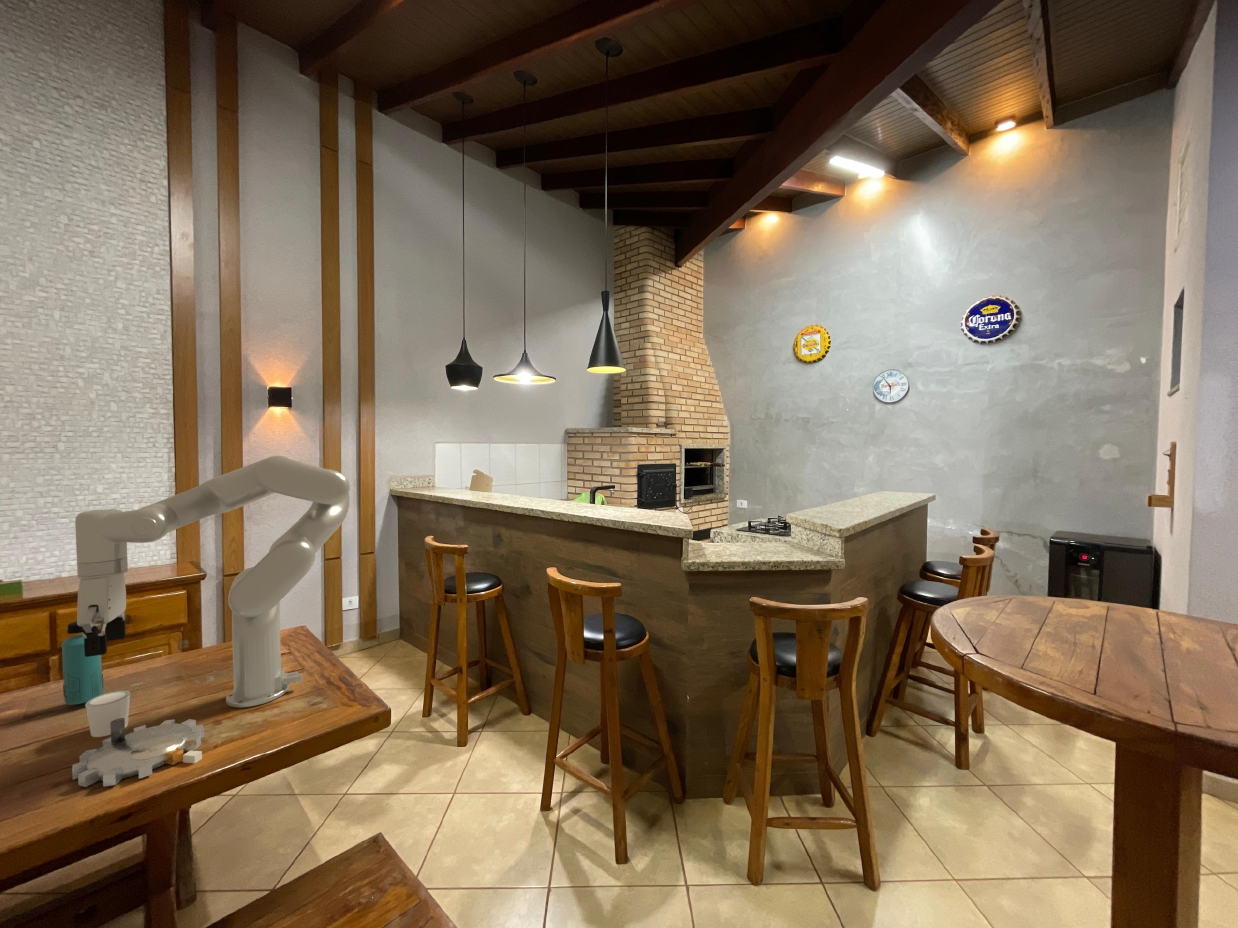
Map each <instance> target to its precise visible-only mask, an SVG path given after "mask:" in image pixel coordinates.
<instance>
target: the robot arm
mask: <svg viewBox="0 0 1238 928" xmlns="http://www.w3.org/2000/svg"><path fill="white" fill-rule="evenodd" d="M350 486H351V485H350V482H349V479H348V478H347V477H346V476H345V475H344V474H343V473H341V472H340V471H337V470H336V469H329V468H324V467H320V466H316V465H311V464H309V463H305V462H301V461H298V460H297V461H296V460H295V459H292V458H288V457H286V456H283V455H272V456H269V457H267V458H264V459H263V458H262V459H260V460H259V461H255V462H252V463H250V464H247V465H245V466H243V467H240V468H237V469H234V470H232V471H229V472H227V473H224V474H221V475H219V476H215V477H213V478H211V479H209V480H206V481H204V482H203V483H200V484H199V485H197V486H195V487H193V488H190V489H188V490H185V491H183V492H179V493H177V494H175V495H173V496H169V497H167V498H164V499H162V500H158V501H156V502H153V503H151V504H148V505H146V506H143V507H140V508H137V509H133V510H126V511H122V510H121V509H95V510H87V511H83V512H80V513H78V514H77V515H76V517H75V521H74V526H75V528H74V529H75V543H76V544H75V547H76V549H75V550H76V568H77V569H76V570H77V579H79V584H78V590H77V610H76V611H77V612H76V614H77V615H76V621H77V625H78V626H80V627H81V626H82V627H83V630H82V632H81V633H82V634H83V633H84V634H83V638H84V650H85V656H86V657H90V656H97V655H101V656H104V655H106V654H107V653H108V645H107V644H108V642H109V641H116V640H122V639H123V640H124V639H125V638H126V636H127V632H126V628H127V627H126V614H125V611H126V610H127V588H126V580H125V574H126V573H128V572H129V566H128V561H129V560H128V543H134V544H135V543H136V544H139V543H140V544H141V543H142V544H145V543H153V542H157V541H158V540H161V539H162V538H164V537H165V536H167V534H168V533H171V532H173V531H175V530H177V529H180V528H182V527H185V526H187V525H189V524H192V523H194V522H197V521H199V520H202V519H205V518H208V517H210V516H213V515H217V514H225V513H229V512H233V511H235V510H237V509H239V508H242V507H244V506H247V505H249V504H251V503H254V502H256V501H258V500H261V499H263V498H266V497H268V496H270V495H273V494H277V495H278V494H279V495H282V496H287V497H290V498H295V499H300V500H304V501H308V502H312V504H311V505H310V507H309V508H308V509H307V511H306V512H305V513H304V514H303V515H302V516H301V517H300V518H299V519H298V520H297V521H296V522H295V523H294V524H293V525H292V526H290V528H289V529H287V530H286V531H285V532H284V533H283V534H282V535H281V536H280V537H278V538H277V539H276V540H275V541H274V542H272V544H271V545H270V548H269V551H268V552H267V553H266V554H265V556H263V558H261V559H260V560H259V561H258V562H257V564H255V565H254V566H251V567H249V568H246V569H244V570H242V571H241V572H239V573H238V574H237V575H236V576H235V577H234V579H233V580H232V582H231V585H230V588H229V591H228V595H227V603H228V606H229V608H230V610H231V629H232V631H231V633H232V639H231V640H232V667H233V671H232V672H233V674H232V675H233V690H231V691H230V692H229V693H228V694H227V695H226V696H225V697H226V698H225V703H226V705H227V706H229V707H232V708H250V707H254V706H260V705H264V704H266V703H270V702H272V701H274V700H276V699H278V698H280V697H282V696H283V695H285V694H286V693H287V692H288V691H289V689H290V684H295V683H296V684H297V683H301V682H303V673H298V671H293V672H289V673H288V672H285V668H284V667H282V655H281V654H282V652H281V650H282V647H281V608H280V606H281V603H280V602H281V600H283V599H284V598H285V597H286V596H287V595H288V594H289V593H290V592H291V591H292V589H294V587H296V585H297V584H299V582H301V580H302V579H303V578H304V577H305V576H306V575H307V574H308V573H309V572H310V570H311V569H312V567H313V566H314V563H315V561H316V560H315V559H316V553H317V552H318V551H319V550H320V549H321V548H322V546H323V545H325V544H326V542H327V541H328V540H329V539H330V538H331V537H332V536H333V535H334V534H335V533H336V532H337V531H338V529H339V528H340V526H341V525H342V524H343V522H344V521H345V519H346V517H347V515H348V511H349V507H350V488H351V487H350ZM97 626H98V627H99V628H98V627H97ZM107 641H108V642H107Z"/></svg>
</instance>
